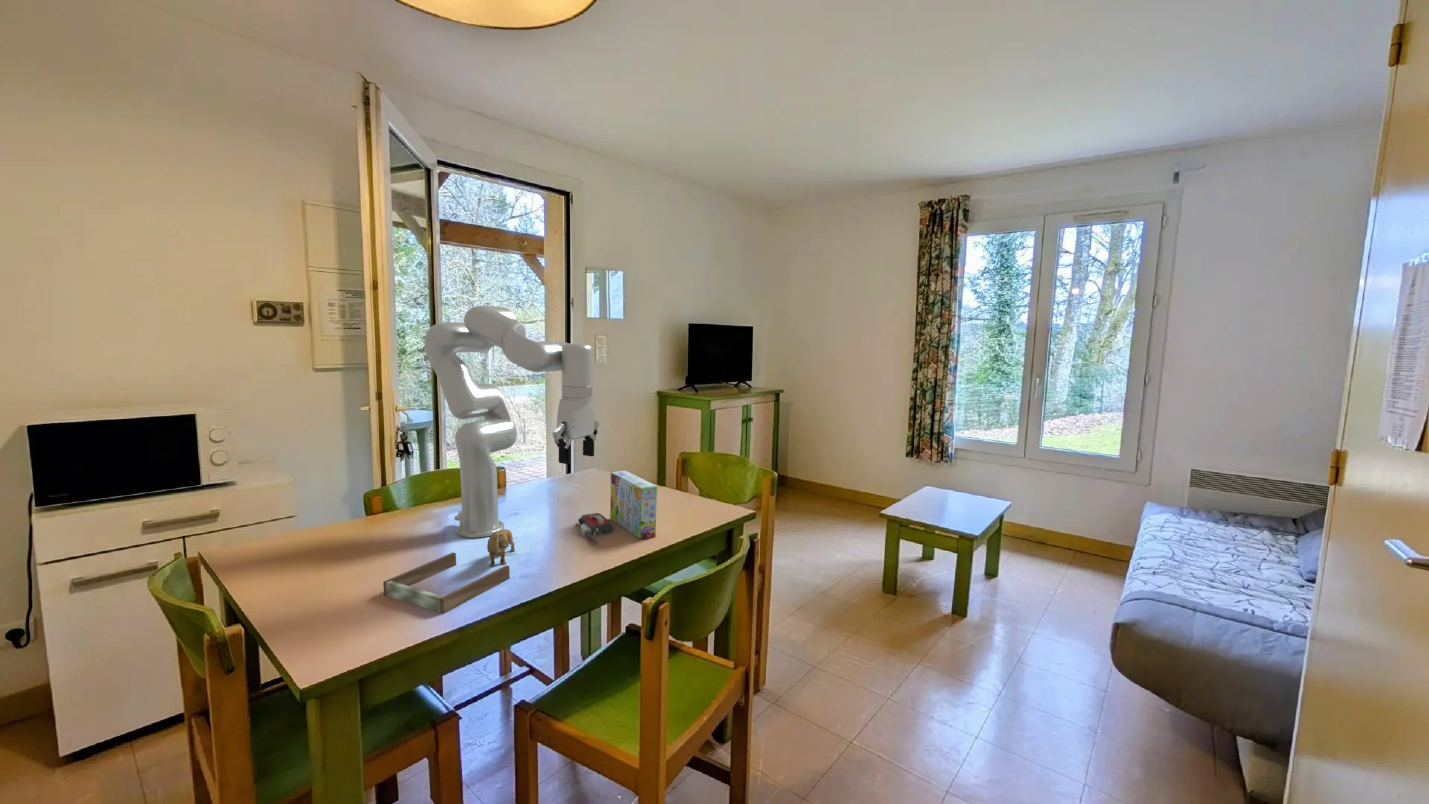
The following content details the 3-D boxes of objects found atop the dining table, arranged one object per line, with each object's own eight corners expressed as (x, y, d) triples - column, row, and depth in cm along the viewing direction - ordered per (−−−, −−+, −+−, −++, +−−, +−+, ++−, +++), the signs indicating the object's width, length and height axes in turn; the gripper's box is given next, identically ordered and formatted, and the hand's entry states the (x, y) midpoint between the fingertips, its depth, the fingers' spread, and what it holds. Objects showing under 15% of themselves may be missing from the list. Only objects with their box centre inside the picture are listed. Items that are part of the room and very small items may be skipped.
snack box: (657, 537, 157) (658, 485, 155) (639, 540, 154) (640, 488, 152) (625, 516, 174) (625, 469, 173) (608, 519, 171) (608, 471, 169)
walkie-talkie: (571, 525, 166) (592, 548, 149) (571, 510, 166) (592, 532, 148) (600, 520, 171) (623, 542, 153) (600, 506, 170) (623, 527, 153)
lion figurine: (509, 570, 133) (508, 534, 132) (485, 572, 132) (484, 536, 131) (516, 547, 147) (515, 514, 146) (495, 549, 146) (494, 516, 145)
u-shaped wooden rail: (383, 594, 119) (383, 581, 119) (453, 564, 136) (452, 552, 135) (444, 613, 112) (443, 599, 112) (509, 578, 129) (509, 566, 128)
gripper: (585, 389, 149) (585, 451, 151) (541, 395, 133) (542, 464, 135) (609, 391, 146) (608, 454, 148) (567, 397, 130) (567, 468, 132)
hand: (576, 459), depth 141 cm, fingers open, 9 cm apart
